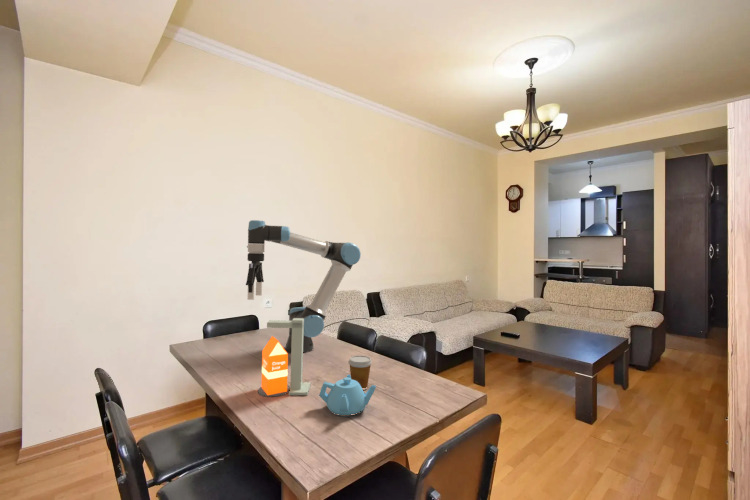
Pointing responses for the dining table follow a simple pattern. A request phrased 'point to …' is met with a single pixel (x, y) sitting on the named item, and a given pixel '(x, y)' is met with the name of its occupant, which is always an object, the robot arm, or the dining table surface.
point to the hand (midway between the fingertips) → (254, 297)
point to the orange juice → (274, 367)
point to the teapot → (346, 396)
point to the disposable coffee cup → (360, 369)
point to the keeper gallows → (294, 354)
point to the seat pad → (272, 394)
